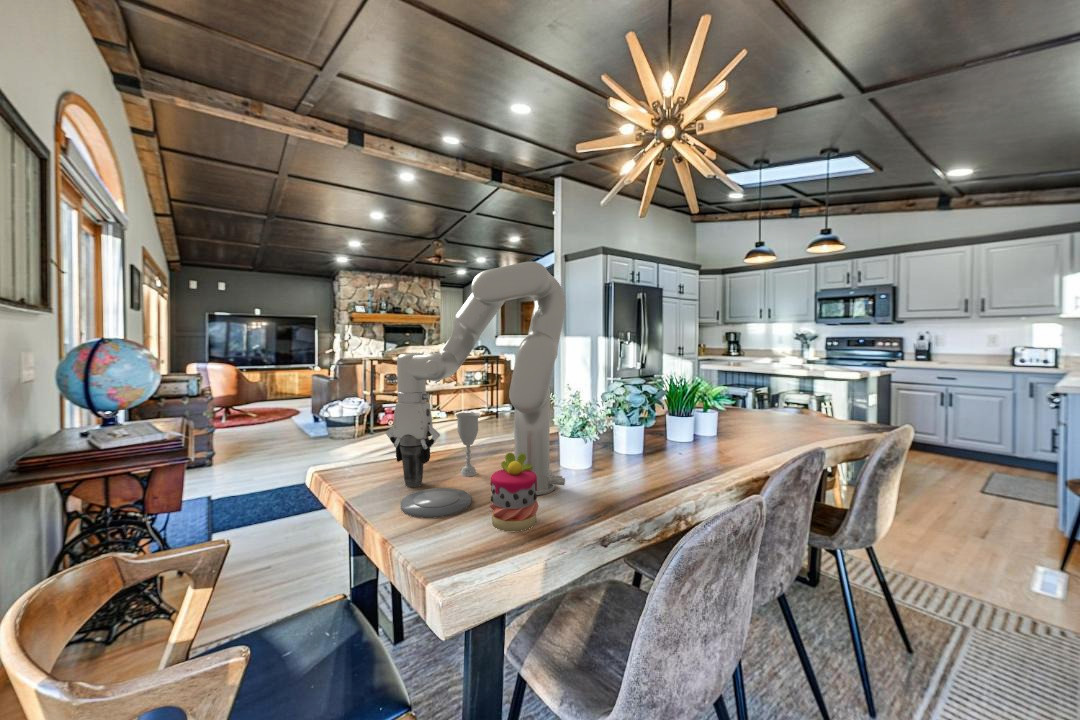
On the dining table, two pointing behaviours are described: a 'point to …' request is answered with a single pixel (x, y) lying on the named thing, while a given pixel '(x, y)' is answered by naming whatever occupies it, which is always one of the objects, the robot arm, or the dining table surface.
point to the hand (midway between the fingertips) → (413, 460)
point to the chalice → (468, 437)
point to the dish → (435, 502)
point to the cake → (514, 495)
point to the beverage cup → (412, 460)
